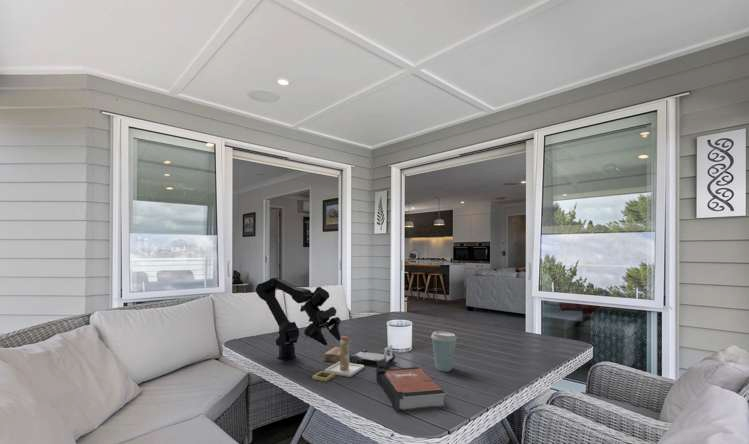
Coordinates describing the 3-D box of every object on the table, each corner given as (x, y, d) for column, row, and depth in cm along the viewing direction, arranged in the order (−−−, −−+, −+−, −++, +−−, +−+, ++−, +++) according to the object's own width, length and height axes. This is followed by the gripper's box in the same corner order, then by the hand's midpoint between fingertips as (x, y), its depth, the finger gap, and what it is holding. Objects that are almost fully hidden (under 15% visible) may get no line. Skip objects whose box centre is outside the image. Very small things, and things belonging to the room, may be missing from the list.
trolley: (349, 364, 160) (349, 346, 160) (362, 356, 171) (362, 340, 171) (384, 369, 153) (384, 350, 153) (395, 361, 164) (395, 344, 164)
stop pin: (339, 370, 150) (339, 338, 151) (341, 367, 154) (341, 336, 155) (348, 371, 150) (348, 338, 151) (349, 368, 153) (349, 336, 154)
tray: (324, 372, 149) (324, 369, 149) (339, 364, 160) (339, 361, 160) (350, 377, 144) (350, 374, 144) (364, 368, 155) (364, 365, 155)
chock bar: (324, 361, 165) (324, 353, 165) (335, 354, 176) (335, 346, 176) (338, 363, 163) (338, 355, 163) (348, 355, 174) (348, 348, 174)
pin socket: (312, 379, 142) (312, 376, 142) (321, 374, 147) (321, 371, 147) (326, 381, 139) (326, 378, 139) (335, 376, 145) (335, 373, 145)
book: (447, 407, 118) (447, 391, 118) (395, 412, 114) (395, 396, 114) (419, 378, 143) (419, 365, 144) (376, 382, 140) (376, 369, 140)
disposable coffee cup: (441, 363, 161) (440, 328, 162) (462, 369, 153) (462, 332, 154) (426, 369, 153) (425, 332, 155) (447, 375, 146) (447, 336, 147)
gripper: (310, 304, 152) (330, 335, 145) (338, 298, 167) (357, 326, 161) (295, 321, 155) (314, 352, 149) (324, 314, 171) (342, 342, 165)
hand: (333, 342), depth 156 cm, fingers open, 9 cm apart
